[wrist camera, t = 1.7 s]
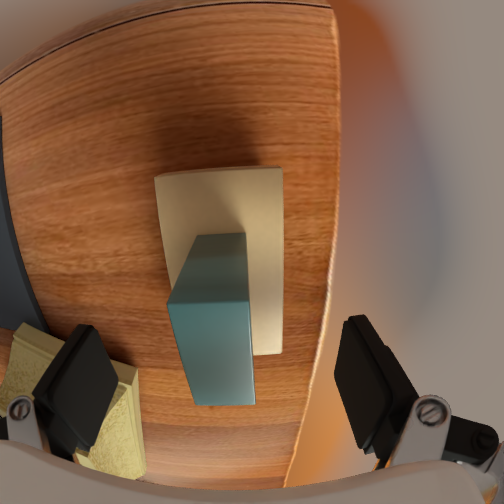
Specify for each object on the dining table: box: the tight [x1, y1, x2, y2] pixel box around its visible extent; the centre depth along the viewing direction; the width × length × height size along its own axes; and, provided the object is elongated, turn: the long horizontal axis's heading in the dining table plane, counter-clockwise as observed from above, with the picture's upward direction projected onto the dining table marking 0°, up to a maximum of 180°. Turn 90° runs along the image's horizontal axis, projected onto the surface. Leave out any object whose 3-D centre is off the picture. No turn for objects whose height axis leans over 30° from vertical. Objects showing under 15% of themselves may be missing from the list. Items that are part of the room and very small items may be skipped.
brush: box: [154, 165, 284, 405], centre depth 13 cm, size 11×6×9 cm, turn 3°
